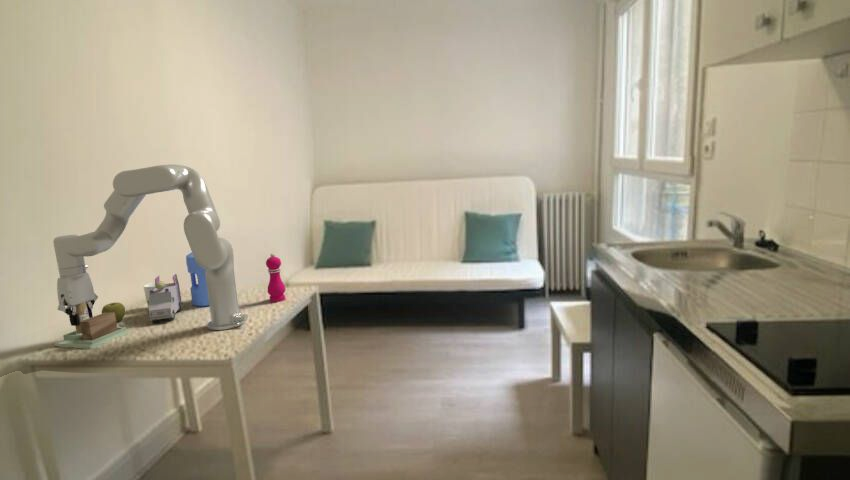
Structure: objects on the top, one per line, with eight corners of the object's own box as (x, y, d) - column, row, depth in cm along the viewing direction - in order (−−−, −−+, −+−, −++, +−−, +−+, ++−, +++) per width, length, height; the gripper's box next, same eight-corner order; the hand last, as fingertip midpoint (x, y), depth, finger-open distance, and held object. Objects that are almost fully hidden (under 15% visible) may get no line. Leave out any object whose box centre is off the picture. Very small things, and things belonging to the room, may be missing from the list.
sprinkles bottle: (90, 332, 172) (83, 294, 170) (74, 334, 171) (67, 296, 168) (93, 328, 176) (86, 291, 174) (77, 330, 175) (70, 293, 173)
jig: (128, 332, 178) (127, 325, 178) (91, 348, 164) (89, 340, 163) (94, 331, 182) (93, 324, 182) (54, 346, 168) (53, 339, 167)
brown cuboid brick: (117, 331, 176) (114, 312, 175) (92, 342, 166) (89, 322, 165) (108, 331, 177) (105, 312, 176) (83, 341, 167) (79, 321, 166)
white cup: (169, 307, 208) (165, 284, 206) (148, 311, 203) (144, 288, 202) (166, 303, 214) (163, 281, 213) (146, 307, 210) (142, 284, 208)
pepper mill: (273, 297, 213) (268, 251, 210) (289, 297, 212) (284, 251, 209) (265, 302, 206) (260, 255, 203) (282, 302, 205) (276, 254, 202)
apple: (100, 326, 188) (97, 308, 187) (107, 320, 195) (104, 302, 194) (123, 323, 190) (120, 305, 188) (129, 317, 197) (126, 299, 196)
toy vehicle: (148, 325, 185) (141, 286, 183) (160, 311, 204) (155, 275, 201) (175, 322, 187) (169, 283, 185) (185, 307, 206) (180, 272, 204)
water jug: (235, 295, 222) (227, 232, 217) (226, 305, 207) (218, 238, 202) (198, 298, 220) (190, 235, 215) (187, 308, 205) (177, 241, 200)
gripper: (86, 265, 179) (95, 315, 182) (39, 277, 163) (50, 331, 166) (103, 265, 177) (111, 315, 180) (57, 277, 161) (67, 331, 164)
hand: (82, 322), depth 173 cm, fingers closed on sprinkles bottle, 4 cm apart
